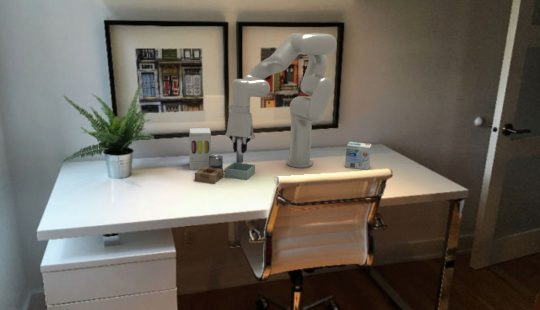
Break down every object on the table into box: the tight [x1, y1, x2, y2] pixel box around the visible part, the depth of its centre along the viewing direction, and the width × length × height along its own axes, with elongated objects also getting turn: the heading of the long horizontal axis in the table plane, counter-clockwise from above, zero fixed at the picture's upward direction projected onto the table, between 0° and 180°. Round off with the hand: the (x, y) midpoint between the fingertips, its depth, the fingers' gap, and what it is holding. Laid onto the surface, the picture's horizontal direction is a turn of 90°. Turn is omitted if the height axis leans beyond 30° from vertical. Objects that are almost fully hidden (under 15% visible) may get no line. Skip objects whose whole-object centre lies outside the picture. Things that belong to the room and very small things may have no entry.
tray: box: [224, 161, 256, 181], centre depth 204 cm, size 10×10×4 cm
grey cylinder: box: [209, 154, 224, 170], centre depth 206 cm, size 6×6×8 cm
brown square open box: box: [194, 167, 224, 185], centre depth 198 cm, size 9×9×4 cm
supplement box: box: [188, 127, 212, 170], centre depth 212 cm, size 10×9×17 cm
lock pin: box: [235, 137, 244, 163], centre depth 201 cm, size 4×4×13 cm
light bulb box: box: [344, 141, 372, 171], centre depth 219 cm, size 11×7×11 cm, turn 71°
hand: (239, 151), depth 202 cm, fingers closed on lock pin, 3 cm apart
